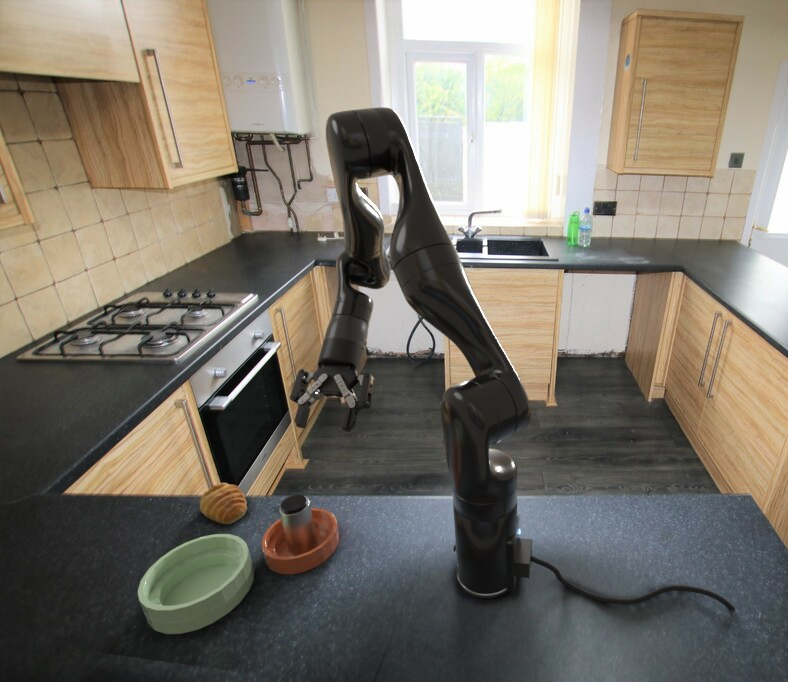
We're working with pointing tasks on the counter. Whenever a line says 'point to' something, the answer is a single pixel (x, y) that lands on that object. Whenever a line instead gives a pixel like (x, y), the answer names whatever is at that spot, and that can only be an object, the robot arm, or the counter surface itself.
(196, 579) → the bowl
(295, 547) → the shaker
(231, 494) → the pastry
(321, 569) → the counter surface
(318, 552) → the bowl
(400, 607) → the counter surface
